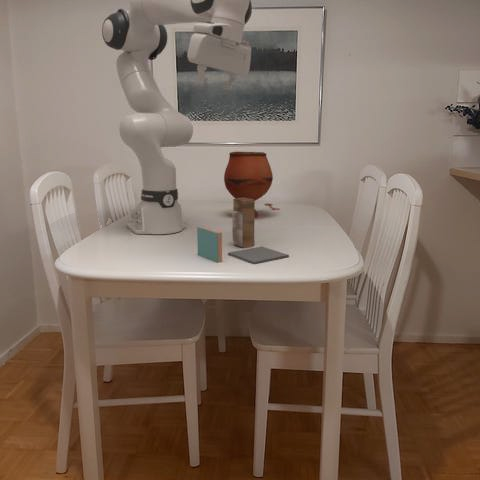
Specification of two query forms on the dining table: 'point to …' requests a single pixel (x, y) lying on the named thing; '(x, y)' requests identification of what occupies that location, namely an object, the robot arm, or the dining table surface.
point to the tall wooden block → (243, 222)
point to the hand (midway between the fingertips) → (215, 87)
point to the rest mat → (258, 255)
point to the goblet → (248, 175)
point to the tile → (209, 243)
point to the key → (271, 207)
